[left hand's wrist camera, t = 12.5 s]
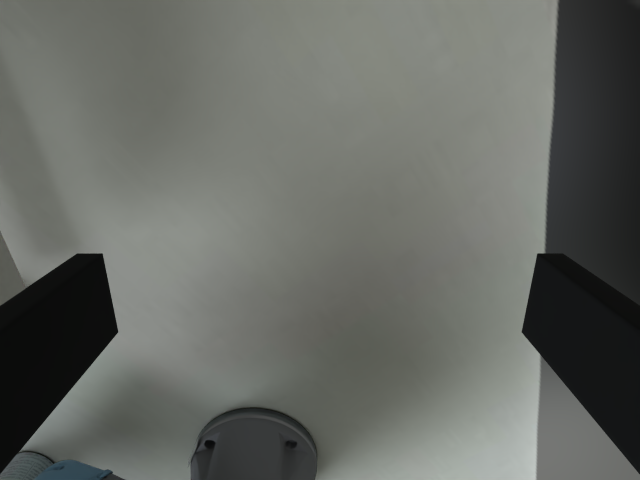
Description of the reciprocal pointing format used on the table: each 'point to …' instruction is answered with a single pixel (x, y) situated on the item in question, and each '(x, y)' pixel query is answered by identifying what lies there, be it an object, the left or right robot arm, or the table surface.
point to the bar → (8, 274)
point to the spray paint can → (25, 467)
